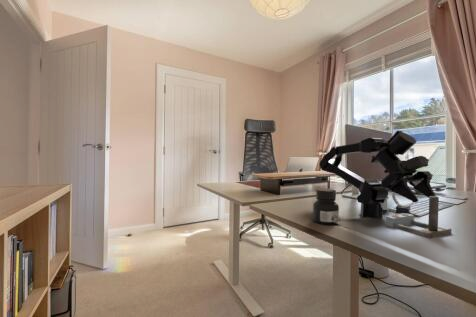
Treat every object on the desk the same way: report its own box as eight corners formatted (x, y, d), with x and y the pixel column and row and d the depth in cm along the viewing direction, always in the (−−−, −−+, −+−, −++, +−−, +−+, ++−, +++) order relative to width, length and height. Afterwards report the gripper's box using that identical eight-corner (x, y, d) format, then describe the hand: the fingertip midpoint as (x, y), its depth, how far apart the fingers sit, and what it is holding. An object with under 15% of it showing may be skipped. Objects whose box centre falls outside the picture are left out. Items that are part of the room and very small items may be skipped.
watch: (414, 217, 91) (415, 189, 91) (390, 213, 97) (391, 187, 96) (416, 214, 95) (416, 188, 95) (393, 210, 101) (393, 186, 101)
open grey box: (385, 227, 78) (385, 220, 78) (406, 224, 82) (406, 217, 82) (429, 242, 66) (429, 233, 66) (451, 236, 70) (451, 228, 70)
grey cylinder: (419, 233, 70) (420, 196, 69) (434, 230, 72) (435, 195, 72) (430, 236, 67) (432, 198, 66) (446, 233, 70) (447, 196, 69)
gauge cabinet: (385, 227, 78) (385, 215, 78) (406, 224, 82) (406, 212, 82) (392, 230, 75) (393, 216, 75) (414, 226, 80) (414, 213, 79)
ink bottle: (324, 227, 78) (325, 192, 78) (307, 220, 87) (307, 188, 86) (344, 223, 82) (345, 190, 82) (326, 217, 91) (326, 187, 90)
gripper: (390, 147, 72) (429, 186, 62) (426, 148, 79) (467, 183, 69) (367, 170, 80) (399, 208, 70) (402, 169, 87) (436, 203, 77)
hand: (426, 200), depth 71 cm, fingers open, 9 cm apart
